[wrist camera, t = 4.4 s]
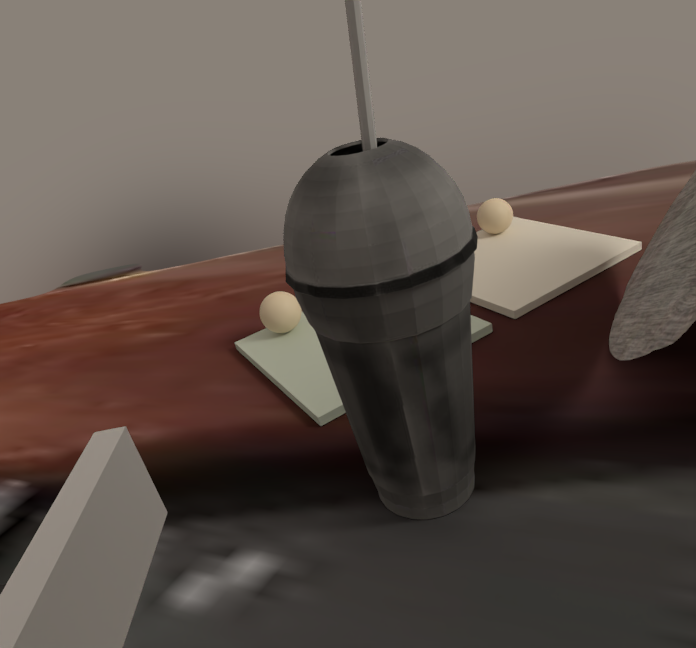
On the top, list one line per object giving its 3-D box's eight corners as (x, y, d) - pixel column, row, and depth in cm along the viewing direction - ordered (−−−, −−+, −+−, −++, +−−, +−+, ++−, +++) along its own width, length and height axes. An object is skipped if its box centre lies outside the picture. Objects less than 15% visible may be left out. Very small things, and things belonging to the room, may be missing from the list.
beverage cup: (317, 506, 27) (165, 37, 18) (405, 417, 31) (320, 5, 22) (453, 573, 22) (341, -16, 13) (534, 457, 27) (491, -42, 18)
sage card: (379, 283, 48) (371, 242, 46) (492, 331, 37) (486, 281, 36) (236, 349, 43) (221, 306, 41) (320, 426, 32) (304, 372, 31)
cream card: (511, 222, 54) (508, 184, 52) (641, 249, 43) (642, 202, 41) (399, 274, 49) (391, 234, 47) (515, 319, 38) (510, 269, 36)
